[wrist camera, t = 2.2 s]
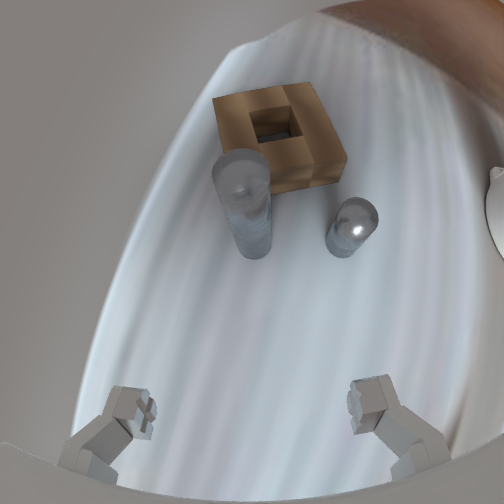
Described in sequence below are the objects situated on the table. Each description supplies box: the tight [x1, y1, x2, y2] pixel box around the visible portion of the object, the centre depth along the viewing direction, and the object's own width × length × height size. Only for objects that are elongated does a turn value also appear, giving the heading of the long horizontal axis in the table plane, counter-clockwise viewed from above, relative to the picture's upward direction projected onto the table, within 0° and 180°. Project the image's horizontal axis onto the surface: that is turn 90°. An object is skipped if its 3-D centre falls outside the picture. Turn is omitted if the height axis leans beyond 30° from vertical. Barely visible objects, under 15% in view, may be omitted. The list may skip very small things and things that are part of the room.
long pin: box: [212, 148, 271, 260], centre depth 24 cm, size 4×4×14 cm
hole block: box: [212, 82, 348, 195], centre depth 31 cm, size 12×12×5 cm
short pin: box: [326, 197, 379, 258], centre depth 27 cm, size 4×4×7 cm
